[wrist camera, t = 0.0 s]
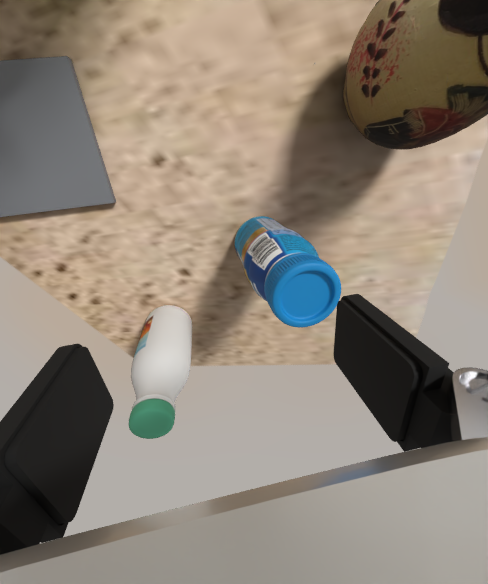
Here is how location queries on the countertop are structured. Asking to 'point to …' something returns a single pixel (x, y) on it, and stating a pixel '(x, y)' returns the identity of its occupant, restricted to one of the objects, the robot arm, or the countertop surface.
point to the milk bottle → (160, 370)
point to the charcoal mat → (47, 140)
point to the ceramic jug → (418, 71)
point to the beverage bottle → (287, 272)
